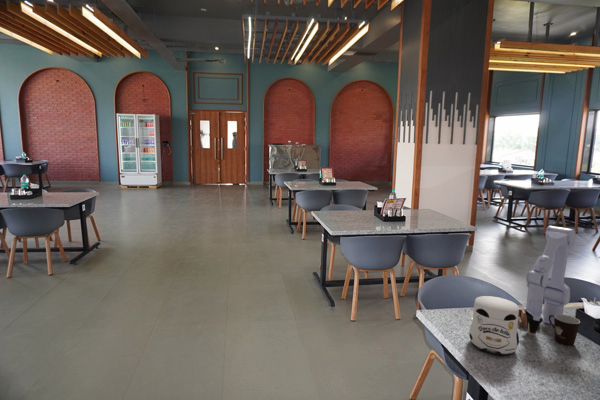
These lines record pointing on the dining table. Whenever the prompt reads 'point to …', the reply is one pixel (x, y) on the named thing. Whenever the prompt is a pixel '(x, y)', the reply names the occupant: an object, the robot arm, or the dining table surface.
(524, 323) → the tethered block
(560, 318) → the coffee mug
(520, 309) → the wooden u-shaped bracket
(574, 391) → the dining table surface
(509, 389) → the dining table surface
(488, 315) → the milk container
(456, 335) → the dining table surface
